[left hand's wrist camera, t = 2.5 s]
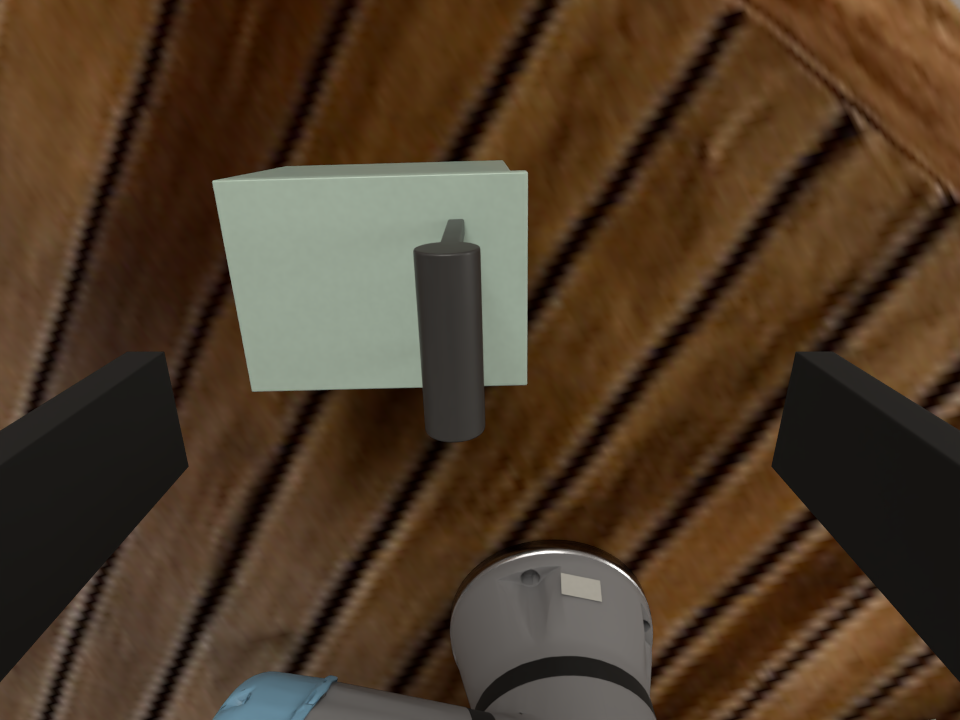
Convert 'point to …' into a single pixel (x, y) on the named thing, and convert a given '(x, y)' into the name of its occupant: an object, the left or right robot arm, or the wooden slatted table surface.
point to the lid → (383, 285)
